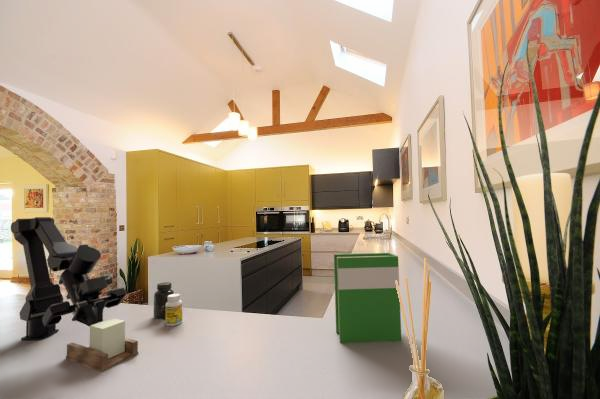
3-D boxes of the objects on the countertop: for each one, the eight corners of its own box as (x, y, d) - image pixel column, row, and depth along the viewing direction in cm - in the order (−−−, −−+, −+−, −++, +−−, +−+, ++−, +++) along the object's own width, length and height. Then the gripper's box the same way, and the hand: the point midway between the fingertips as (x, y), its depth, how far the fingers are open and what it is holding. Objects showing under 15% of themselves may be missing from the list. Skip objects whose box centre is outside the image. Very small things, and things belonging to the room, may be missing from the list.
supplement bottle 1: (165, 320, 99) (165, 286, 100) (149, 319, 100) (149, 285, 101) (177, 313, 106) (177, 281, 106) (162, 312, 107) (162, 281, 108)
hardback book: (340, 343, 79) (337, 258, 80) (336, 332, 86) (333, 254, 87) (401, 340, 79) (398, 256, 80) (392, 330, 87) (389, 252, 88)
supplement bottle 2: (183, 319, 99) (183, 292, 100) (180, 325, 94) (180, 296, 94) (167, 321, 98) (167, 293, 99) (163, 327, 93) (163, 298, 93)
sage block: (89, 357, 72) (89, 325, 72) (111, 347, 77) (112, 318, 77) (102, 361, 70) (102, 329, 70) (124, 351, 75) (124, 321, 75)
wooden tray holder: (65, 358, 73) (66, 344, 74) (102, 343, 82) (103, 331, 82) (101, 372, 67) (102, 356, 67) (138, 354, 75) (138, 340, 75)
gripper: (48, 273, 70) (72, 324, 64) (123, 261, 86) (146, 300, 81) (32, 301, 73) (53, 352, 67) (107, 284, 89) (129, 324, 84)
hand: (100, 330), depth 75 cm, fingers closed, pressing on sage block
